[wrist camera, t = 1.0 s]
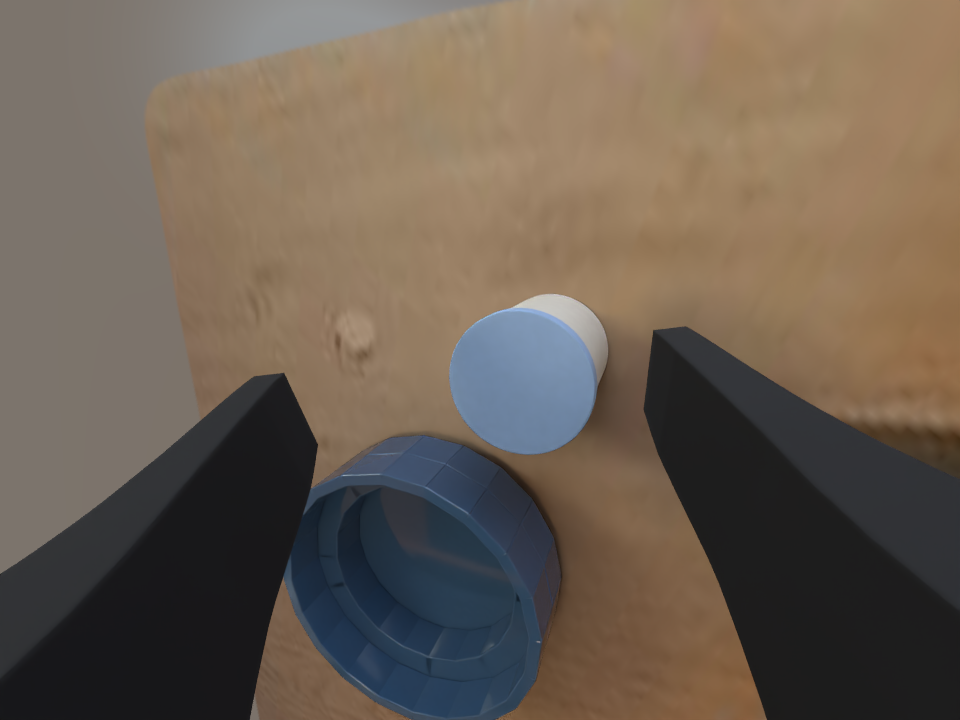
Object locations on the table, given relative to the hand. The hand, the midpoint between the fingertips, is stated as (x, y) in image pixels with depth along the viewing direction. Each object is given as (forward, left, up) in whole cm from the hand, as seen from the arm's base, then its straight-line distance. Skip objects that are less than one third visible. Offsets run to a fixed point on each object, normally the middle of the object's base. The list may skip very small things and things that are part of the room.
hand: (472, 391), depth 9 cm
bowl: (-9, +14, -13) cm, 21 cm away
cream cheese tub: (-1, +2, -13) cm, 13 cm away
